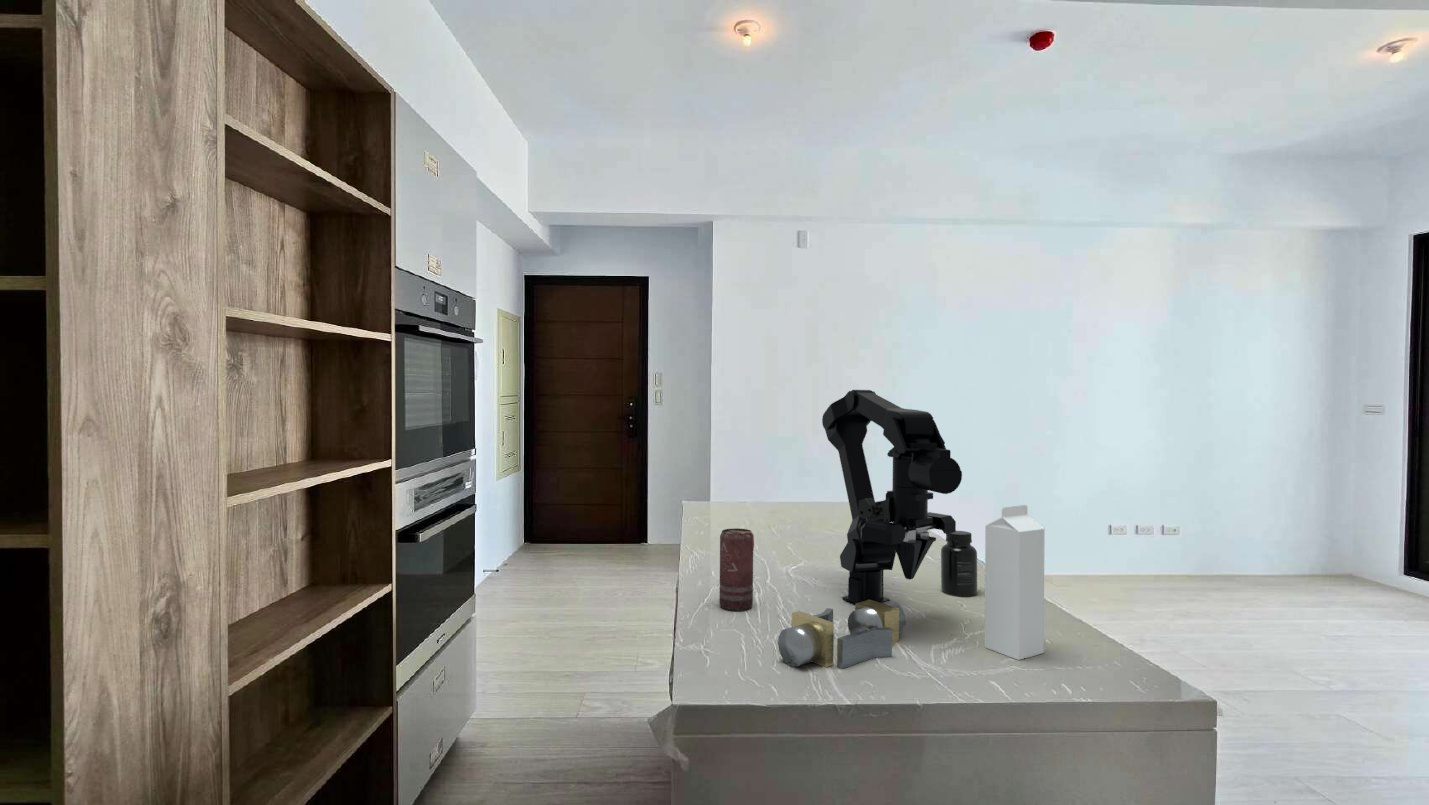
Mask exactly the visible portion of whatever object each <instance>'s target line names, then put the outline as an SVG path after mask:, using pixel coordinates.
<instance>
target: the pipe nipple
mask: <svg viewBox="0 0 1429 805" xmlns="http://www.w3.org/2000/svg"><path fill="white" fill-rule="evenodd" d="M854 604H855V610H852V612H851V613H850V614H849V615H848V617H847V629H848V633H849V634H853V633H856V632H859V631H862V630H866V629H870V628H885V627H890V628H891V629H892V644H894V643H896V642H900V634H901V633H903V631H904V630H905V628H906V625H907V619H906V614H905V612H904V610H903V608H902V607H901V606H900V605H899V604H898V603H897V602H894V600H893V601H891V600H890V601H887V602H883V603H879V602H876V601H873V600H867V601H863V602H859V603H854Z"/></svg>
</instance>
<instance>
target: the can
mask: <svg viewBox="0 0 1429 805" xmlns="http://www.w3.org/2000/svg"><path fill="white" fill-rule="evenodd" d="M754 537H755V535H754V532H752V530H750V529H747V528H737V527H736V528H724V529H722V531H721V533H720V535H719V599H718V600H719V605H720V607H721V608H722V609H723V610H726V611H731V612H742V611H748V610H750V609H751V608H752V606H753V603H754V602H753V601H754V590H753V589H754V550H755V549H754V548H755V538H754Z"/></svg>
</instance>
